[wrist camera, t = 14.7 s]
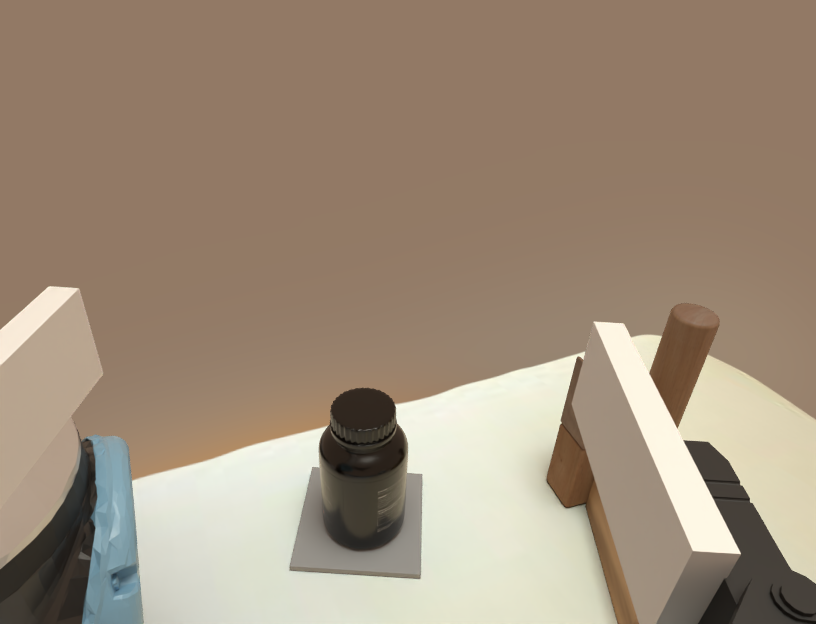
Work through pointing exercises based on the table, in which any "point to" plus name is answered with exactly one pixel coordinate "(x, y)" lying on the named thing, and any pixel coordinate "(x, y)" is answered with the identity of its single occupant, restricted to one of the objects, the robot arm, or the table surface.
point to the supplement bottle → (363, 470)
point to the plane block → (610, 560)
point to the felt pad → (330, 556)
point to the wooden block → (671, 376)
